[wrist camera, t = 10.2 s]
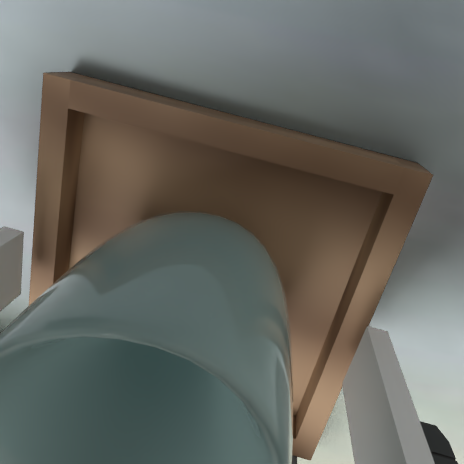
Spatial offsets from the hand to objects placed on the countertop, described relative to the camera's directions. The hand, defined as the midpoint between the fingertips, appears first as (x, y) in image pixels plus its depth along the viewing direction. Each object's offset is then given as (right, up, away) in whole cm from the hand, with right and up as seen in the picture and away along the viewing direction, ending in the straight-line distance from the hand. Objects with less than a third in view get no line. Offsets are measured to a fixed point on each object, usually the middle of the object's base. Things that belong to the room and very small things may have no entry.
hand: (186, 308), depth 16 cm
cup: (0, +1, +3) cm, 3 cm away
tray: (0, +1, +3) cm, 4 cm away
